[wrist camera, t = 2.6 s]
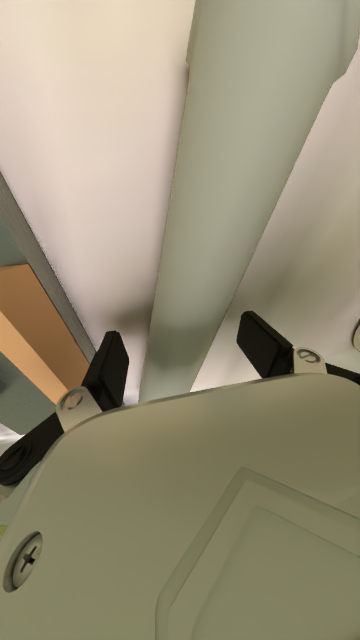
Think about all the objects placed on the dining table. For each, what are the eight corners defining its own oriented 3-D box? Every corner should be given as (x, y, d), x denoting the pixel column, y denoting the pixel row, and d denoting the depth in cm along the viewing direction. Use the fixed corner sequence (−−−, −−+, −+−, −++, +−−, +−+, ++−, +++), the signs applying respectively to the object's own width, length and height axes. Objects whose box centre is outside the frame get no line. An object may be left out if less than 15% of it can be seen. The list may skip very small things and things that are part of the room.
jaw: (28, 264, 8) (-26, 280, 6) (104, 388, 15) (93, 420, 12) (-1, 266, 8) (-69, 284, 6) (88, 390, 15) (75, 423, 12)
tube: (185, 426, 17) (394, 46, 4) (139, 447, 15) (323, -321, 2) (168, 386, 21) (254, 119, 8) (129, 397, 18) (166, 34, 6)
